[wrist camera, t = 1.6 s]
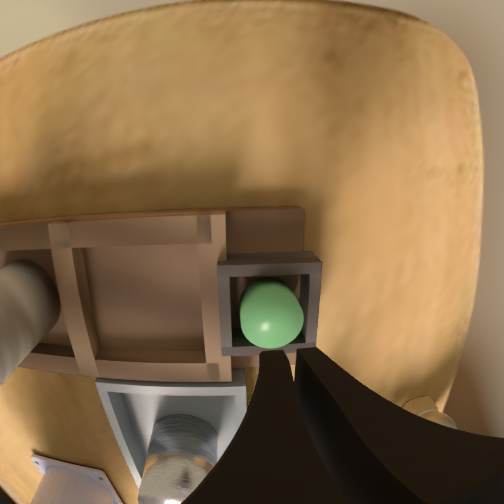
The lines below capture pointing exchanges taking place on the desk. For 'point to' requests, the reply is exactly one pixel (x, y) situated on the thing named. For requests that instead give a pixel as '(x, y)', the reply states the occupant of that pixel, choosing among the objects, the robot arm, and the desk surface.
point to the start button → (270, 313)
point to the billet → (177, 458)
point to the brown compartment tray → (148, 291)
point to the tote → (169, 410)
